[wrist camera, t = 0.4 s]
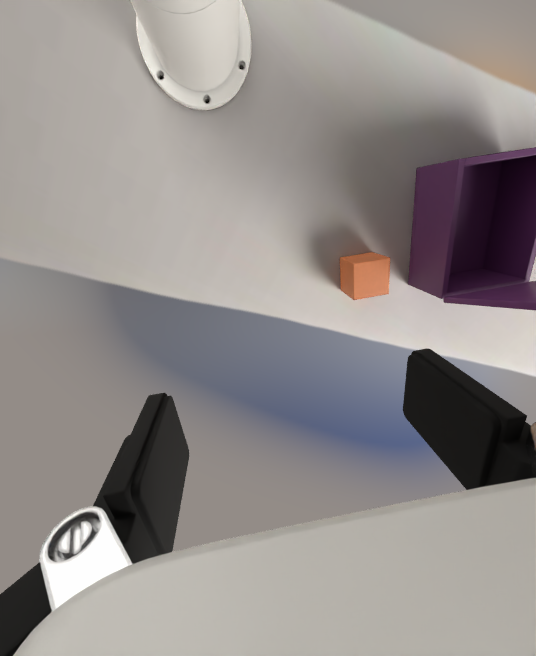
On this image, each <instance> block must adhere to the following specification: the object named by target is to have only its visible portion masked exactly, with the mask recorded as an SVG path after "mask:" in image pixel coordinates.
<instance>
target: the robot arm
mask: <svg viewBox="0 0 536 656" xmlns="http://www.w3.org/2000/svg"><path fill="white" fill-rule="evenodd" d="M130 2H131V4H132V6H133V8H134V10H135V12H136V14H137V15H136V25H137V36H138V42H139V47H140V50H141V53H142V56H143V59H144V61H145V63H146V65H147V67H148V69H149V71H150V73H151V75H152V76H153V78H154V80H155V81H156V82H157V84H158V85H159V86H160V87H161V89H162V90H163V91H164V92H165V93H166V94H167V95H168V96H170V97H171V98H172V99H173V100H175V101H176V102H178V103H180V104H181V105H183V106H186V107H189V108H191V109H197V110H211V109H214V108H217V107H220V106H222V105H224V104H225V103H227V102H229V101H230V100H231V99H232V98H233V97H234V96H235V95H236V94H237V92H238V91H239V89H240V88H241V86H242V85H243V83H244V80H245V78H246V76H247V72H248V68H249V64H250V58H251V32H250V25H249V21H248V17H247V13H246V10H245V8H244V6H243V3H242V1H241V0H130ZM240 66H243V68H244V69H243V70H241V69H240V68H239V67H240ZM160 76H163V77H164V79H163V80H160ZM206 100H209V103H208V104H206V103H205V101H206ZM403 412H404V415H405V417H406V418H407V420H408V421H409V422H410V423H411V425H412V426H413V427H414V428H415V429H416V430H417V432H418V433H419V434H420V435H421V436H422V437H423V439H424V440H425V441H426V442H427V443H428V445H429V446H430V447H431V448H432V449H433V451H434V452H435V453H436V454H437V455H438V456H439V457H440V459H441V460H442V461H443V462H444V464H445V465H446V466H447V467H448V468H449V469H450V471H451V472H452V473H453V474H454V475H455V477H456V478H457V479H458V480H459V481H460V482H461V484H462V485H463V486H464V487H465V488H466V490H465V491H460V492H454V493H449V494H444V495H439V496H434V497H429V498H424V499H419V500H414V501H409V502H404V503H399V504H394V505H389V506H384V507H379V508H374V509H369V510H364V511H360V512H355V513H350V514H345V515H340V516H335V517H330V518H326V519H320V520H316V521H311V522H306V523H301V524H297V525H292V526H287V527H282V528H278V529H272V530H268V531H263V532H259V533H253V534H249V535H245V536H239V537H234V538H230V539H225V540H221V541H217V542H213V543H208V544H203V545H199V546H195V547H190V548H186V549H182V550H178V551H173V552H172V550H173V544H174V538H175V533H176V527H177V522H178V516H179V511H180V505H181V499H182V493H183V488H184V482H185V476H186V471H187V466H188V460H189V449H188V445H187V443H186V439H185V436H184V433H183V430H182V427H181V423H180V420H179V417H178V414H177V411H176V407H175V404H174V401H173V398H172V397H171V396H167V394H165V393H160V394H155V395H150V396H148V398H147V400H146V403H145V405H144V407H143V409H142V411H141V413H140V415H139V418H138V420H137V422H136V424H135V426H134V429H133V431H132V433H131V435H129V436H127V437H126V438H125V440H124V442H123V444H122V446H121V448H120V450H119V452H118V454H117V457H116V459H115V461H114V463H113V465H112V467H111V469H110V471H109V473H108V475H107V478H106V480H105V482H104V484H103V486H102V488H101V490H100V492H99V494H98V496H97V499H96V501H95V503H94V505H93V506H92V507H86V508H83V509H80V510H78V511H76V512H74V513H72V514H71V515H69V516H67V517H66V518H65V519H64V520H62V522H60V523H59V524H58V525H57V526H56V527H55V528H54V529H53V530H52V532H50V534H49V535H48V537H47V538H46V540H45V541H44V543H43V546H42V548H41V551H40V562H39V563H38V564H37V565H36V566H34V567H33V568H32V569H31V570H30V571H28V572H27V573H26V574H25V575H23V576H22V577H21V578H20V579H19V580H17V581H16V582H15V583H14V584H12V585H11V586H10V587H9V588H7V589H6V590H5V591H4V592H3V593H1V594H0V656H536V422H535V423H534V424H533V425H532V426H530V425H529V424H528V423H526V422H525V421H526V418H527V415H525V414H523V413H522V412H521V411H519V410H518V409H516V408H515V407H513V406H512V405H511V404H509V403H508V402H506V401H505V400H503V399H502V398H500V397H499V396H497V395H496V394H495V393H493V392H492V391H490V390H489V389H487V388H486V387H484V386H483V385H482V384H480V383H479V382H477V381H476V380H474V379H473V378H471V377H470V376H469V375H467V374H466V373H464V372H463V371H461V370H460V369H458V368H457V367H455V366H454V365H453V364H451V363H450V362H448V361H447V360H445V359H444V358H442V357H441V356H440V355H438V354H437V353H435V352H434V351H432V350H431V349H422V350H416V351H413V352H412V354H411V355H410V356H409V357H408V362H407V373H406V383H405V393H404V404H403Z"/></svg>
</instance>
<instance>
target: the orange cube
mask: <svg viewBox="0 0 536 656" xmlns="http://www.w3.org/2000/svg"><path fill="white" fill-rule="evenodd" d="M389 274H390V258H389V257H386V256H383V255H380V254H377V253H374V252H370V253H364V254H358V255H352V256H346V257H340V281H341V291H343V292H344V293H345V294H347V295H348V296H349V297H351V298H352V299H353V300H357V299H363V298H368V297H374V296H380V295H385V294H389Z"/></svg>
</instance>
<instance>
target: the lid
mask: <svg viewBox="0 0 536 656" xmlns="http://www.w3.org/2000/svg"><path fill="white" fill-rule="evenodd" d="M444 303H455V304H467V305H479V306H491V307H503V308H515V309H527V310H536V281H531V282H526V283H520V284H514V285H509V286H503V287H498V288H492V289H487V290H481V291H475V292H470V293H464V294H459V295H453V296H447V297H444Z"/></svg>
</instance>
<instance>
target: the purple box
mask: <svg viewBox="0 0 536 656" xmlns="http://www.w3.org/2000/svg"><path fill="white" fill-rule="evenodd" d="M535 256H536V147H535V148H528V149H522V150H515V151H508V152H502V153H495V154H489V155H482V156H475V157H469V158H462V159H457V160H452V161H447V162H443V163H438V164H433V165H429V166H424V167H419V168H417V170H416V183H415V197H414V211H413V224H412V238H411V252H410V265H409V279H408V285H411V286H413V287H415V288H418V289H420V290H422V291H425V292H427V293H429V294H431V295H434V296H436V297H438V298H441V299H443V298H444V297H447V296H453V295H459V294H464V293H470V292H475V291H481V290H487V289H492V288H498V287H503V286H509V285H514V284H520V283H526V282H529V280H530V276H531V272H532V268H533V264H534V260H535Z"/></svg>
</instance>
